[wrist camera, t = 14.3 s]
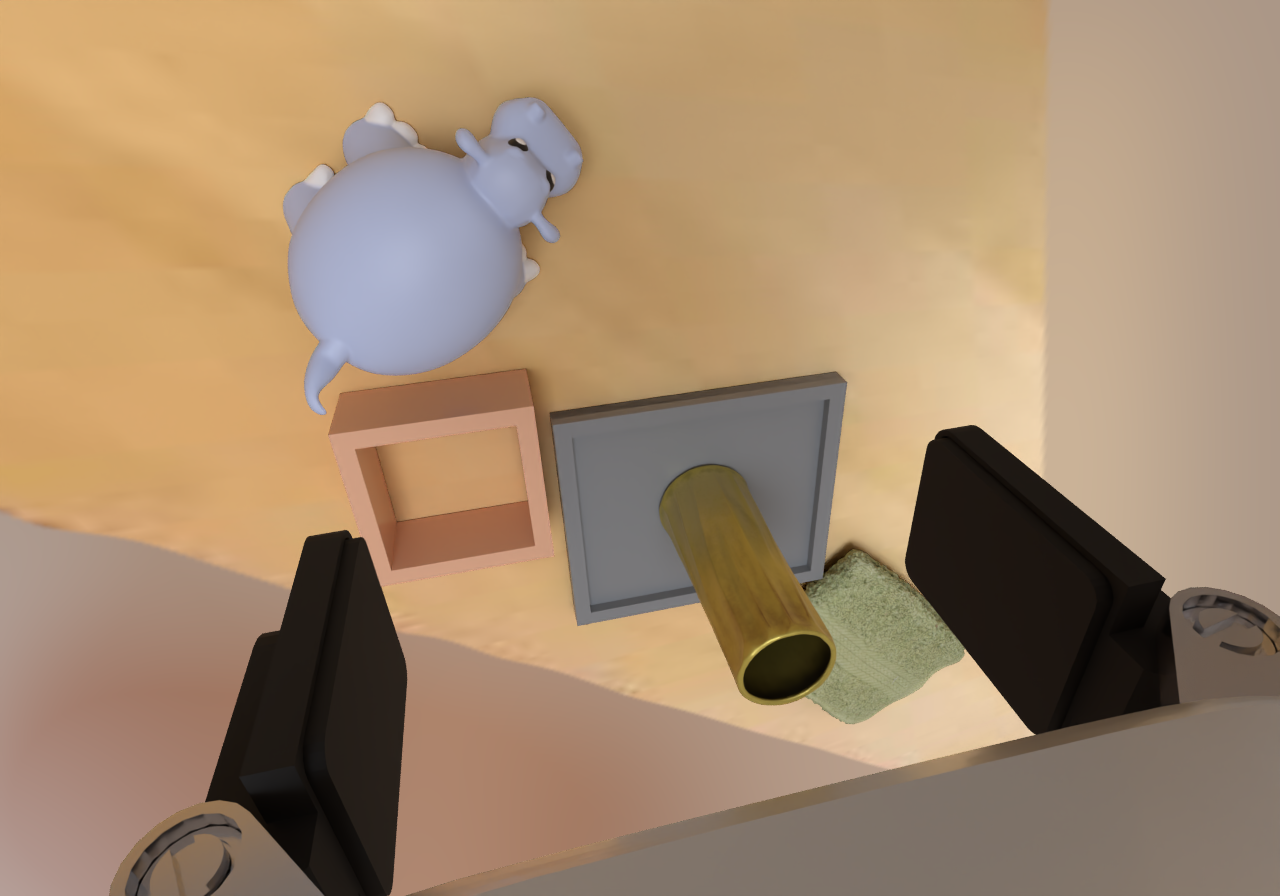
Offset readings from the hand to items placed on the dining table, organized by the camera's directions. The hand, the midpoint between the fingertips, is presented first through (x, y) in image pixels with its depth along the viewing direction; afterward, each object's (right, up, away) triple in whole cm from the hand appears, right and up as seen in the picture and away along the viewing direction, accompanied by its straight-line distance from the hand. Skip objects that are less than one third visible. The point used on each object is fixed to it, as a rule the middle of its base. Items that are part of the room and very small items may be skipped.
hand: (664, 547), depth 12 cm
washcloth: (+17, -13, +47) cm, 51 cm away
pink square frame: (-11, +1, +30) cm, 32 cm away
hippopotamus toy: (-10, +13, +24) cm, 29 cm away
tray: (+3, -2, +36) cm, 36 cm away
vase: (+4, -2, +35) cm, 36 cm away
